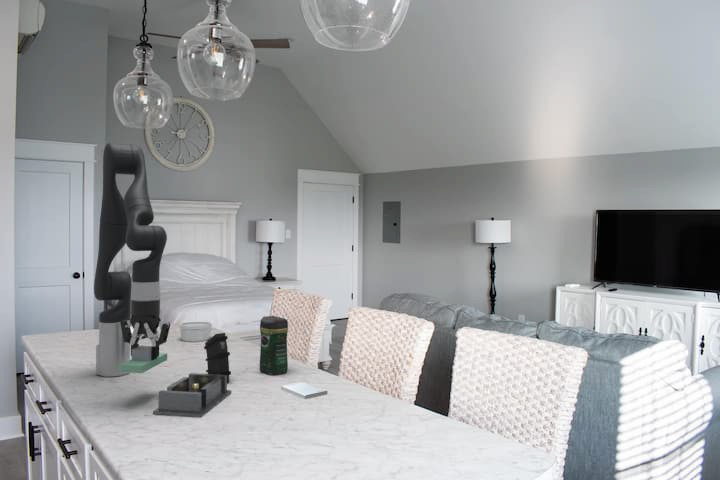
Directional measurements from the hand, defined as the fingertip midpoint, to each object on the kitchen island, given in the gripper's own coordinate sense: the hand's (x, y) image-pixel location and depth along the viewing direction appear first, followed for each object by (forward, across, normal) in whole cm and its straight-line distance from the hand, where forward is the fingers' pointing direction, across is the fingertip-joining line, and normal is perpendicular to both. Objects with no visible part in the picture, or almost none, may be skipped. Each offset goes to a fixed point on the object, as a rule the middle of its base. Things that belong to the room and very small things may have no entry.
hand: (145, 358), depth 154 cm
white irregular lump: (+14, -48, +80) cm, 95 cm away
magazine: (+12, +11, +24) cm, 29 cm away
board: (+2, 0, 0) cm, 2 cm away
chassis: (+11, +15, 0) cm, 19 cm away
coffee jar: (+12, +26, +36) cm, 46 cm away
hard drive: (+12, +42, +15) cm, 46 cm away
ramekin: (+14, -22, +81) cm, 85 cm away
